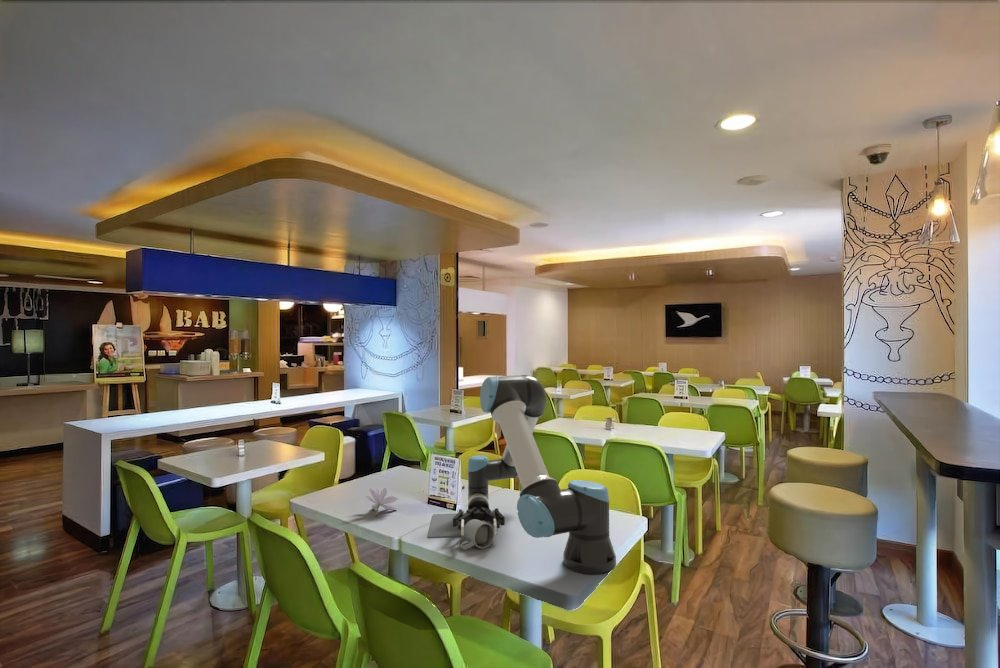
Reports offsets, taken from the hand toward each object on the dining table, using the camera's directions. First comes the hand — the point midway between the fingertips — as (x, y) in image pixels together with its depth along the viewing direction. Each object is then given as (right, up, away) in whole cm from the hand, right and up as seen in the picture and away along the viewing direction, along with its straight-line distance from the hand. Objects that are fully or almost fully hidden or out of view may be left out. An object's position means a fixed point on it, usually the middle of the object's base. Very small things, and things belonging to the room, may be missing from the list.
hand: (479, 530), depth 158 cm
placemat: (-9, -7, +22) cm, 25 cm away
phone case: (-16, -8, +62) cm, 65 cm away
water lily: (-38, -7, +37) cm, 53 cm away
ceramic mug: (-1, -6, +3) cm, 7 cm away
